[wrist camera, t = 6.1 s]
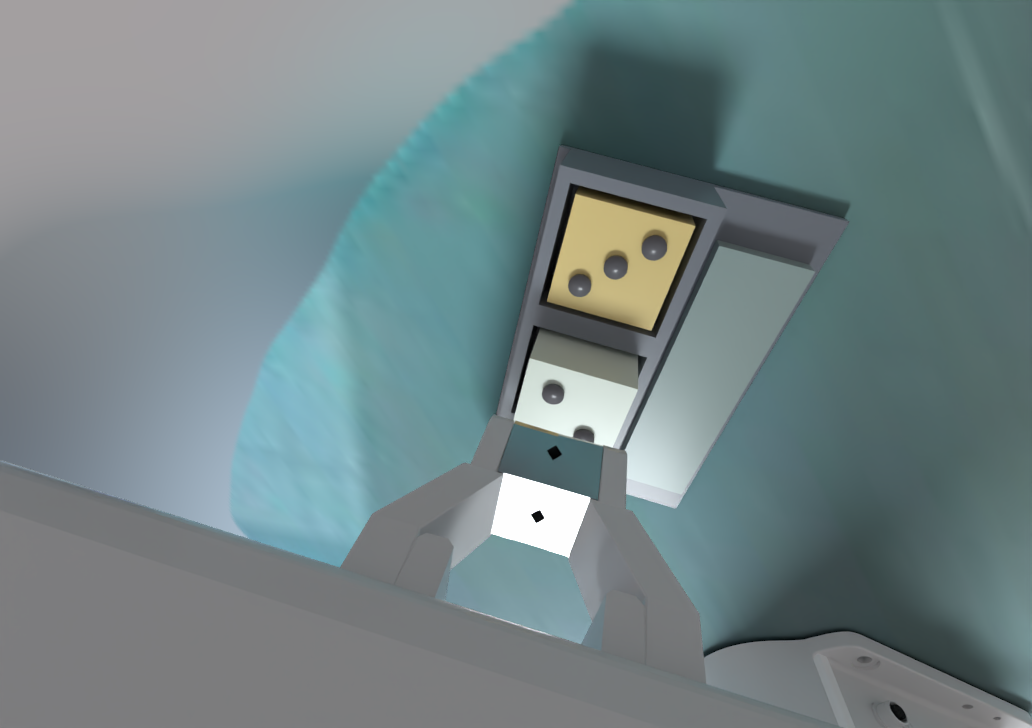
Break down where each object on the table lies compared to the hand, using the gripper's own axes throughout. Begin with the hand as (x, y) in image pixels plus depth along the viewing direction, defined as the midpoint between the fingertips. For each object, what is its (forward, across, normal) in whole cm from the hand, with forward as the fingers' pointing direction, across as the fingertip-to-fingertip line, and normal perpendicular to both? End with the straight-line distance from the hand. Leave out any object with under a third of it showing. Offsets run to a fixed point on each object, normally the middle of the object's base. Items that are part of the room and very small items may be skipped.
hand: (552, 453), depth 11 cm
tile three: (+14, -1, -1) cm, 14 cm away
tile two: (+12, -1, +5) cm, 13 cm away
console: (+14, -3, +5) cm, 15 cm away
